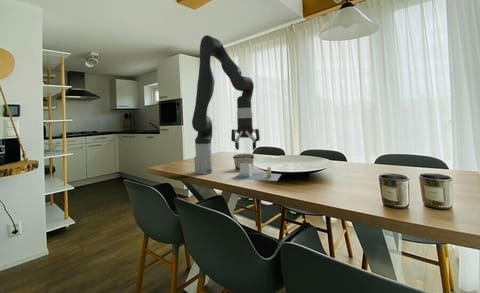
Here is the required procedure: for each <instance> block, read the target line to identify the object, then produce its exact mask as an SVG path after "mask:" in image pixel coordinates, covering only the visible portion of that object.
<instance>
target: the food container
mask: <svg viewBox="0 0 480 293" xmlns="http://www.w3.org/2000/svg"><path fill="white" fill-rule="evenodd" d="M254 159H255V156H254V154H251V153H237V154H236V153H235V154H234V155H233V156H232V160H233V161H234V167H235V168H234V170H236V171H240V164H242V163H252V168H253V165H254V164H253V163H254Z"/></svg>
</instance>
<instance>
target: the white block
mask: <svg viewBox="0 0 480 293" xmlns="http://www.w3.org/2000/svg"><path fill="white" fill-rule="evenodd" d="M239 173H240V177H250V176H251V175H252V173H253V167H252V163H242V164H240V170H239Z"/></svg>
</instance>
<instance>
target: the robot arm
mask: <svg viewBox="0 0 480 293" xmlns="http://www.w3.org/2000/svg"><path fill="white" fill-rule="evenodd" d="M199 44H200V45H199V64H198V65H199V68H198V77H197V78H198V79H197V85H196V96H195V107H194V110H193V116H192V120H191V126H192V128H193V130H194V131H195V132H197V135H196V136H195V139H194V145H195V146H194V148H195V150H194V151H195V156H194V173H195V174H199V175H207V174H212V173H213V157H212V156H213V155H212V154H213V153H212V152H213V151H212V139H213V121H212V119H211V117H210V116H208V106H209V104H210V102H211V100H212V97H213V95H214V91H215V90H214V89H215V81H216V80H215V75H214V73H213V70H212V66H211V57H214V58H215V59H216V60H218V61H219V63H220V64H221V66H220V67H221V69H222V71H223V72H224V73H225V75H226V76H227V77H228V78H229V80H230V82H231V85H232V87H233V88H234V89H235V90H236V91H238V92H242V94H241V95H240V96H238V97H237V99H236V106H237V107H236V108H237V111H236V115H237V116H236V119H237V121H236V123H237V124H236V125H237V129H231V135H230V136H231V140H230V141H231V142H233V143H234V146H235V150H238V151H239V150H240V140H241V139H245V138H249V139H250V140H251V141H252V151H255V150H256V148H257V142H259V141H260V140H261V138H260V137H261V136H260V129H259V128H254V127H253V110H252V98H253V93H254V87H255V84H254V81H253V79H252V78H251V77H249V76H243V74H242V70H241V68H240V67H239V66H238V65H237V64H236V63H235V61H234V60H233V59H232V58H231V57H230V55H229V54H228V52H227V50H226V49H225V47H224V44H222V42H221V41H220V40H219V39H217V38H215V37H213V36H211V35H209V34H206V35H204V36H203V37H202V38H201V40H200V43H199ZM236 134H238V135H237V136H236ZM253 134H255V136H254V135H253Z"/></svg>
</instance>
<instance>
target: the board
mask: <svg viewBox="0 0 480 293" xmlns="http://www.w3.org/2000/svg"><path fill="white" fill-rule="evenodd" d="M266 171H267V172H266V173H265V172H263V173H262V172H252V175H251V176H250V177H240V172H239V173H238V174H236V175H235V176H234V177H232V179H234V180H235V179H236V180H252V181H253V180H255V181H270V182H271V181H272V182H273V181H274V182H277V181H278V180H279V179H280V177H281V176H282V173H272V168H271V166H268V167H267V170H266Z"/></svg>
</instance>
